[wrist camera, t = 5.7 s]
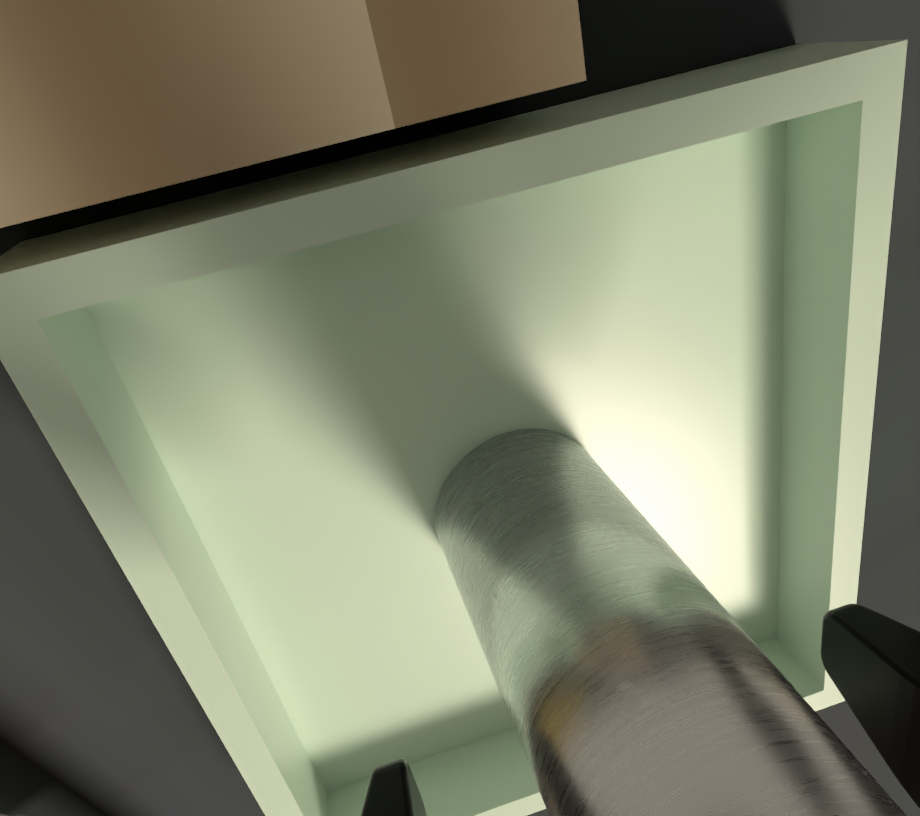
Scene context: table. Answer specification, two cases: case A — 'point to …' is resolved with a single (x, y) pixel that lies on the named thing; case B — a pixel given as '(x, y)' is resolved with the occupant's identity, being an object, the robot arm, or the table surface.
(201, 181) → the table surface
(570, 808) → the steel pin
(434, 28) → the block
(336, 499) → the tray
